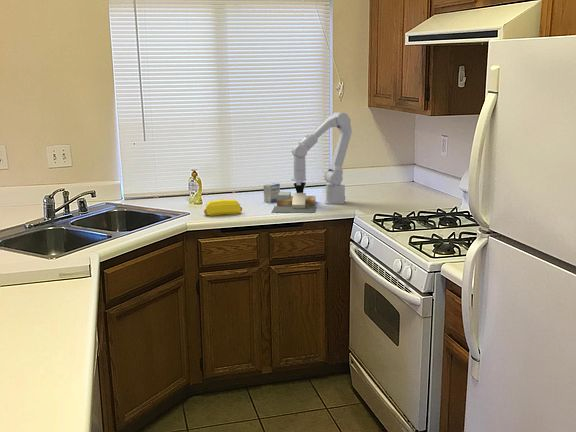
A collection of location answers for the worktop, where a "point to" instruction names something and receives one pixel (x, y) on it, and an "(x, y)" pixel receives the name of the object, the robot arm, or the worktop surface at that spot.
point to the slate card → (284, 195)
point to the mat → (293, 209)
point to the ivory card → (298, 200)
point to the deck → (309, 199)
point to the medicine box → (271, 192)
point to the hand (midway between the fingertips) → (300, 197)
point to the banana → (222, 207)
